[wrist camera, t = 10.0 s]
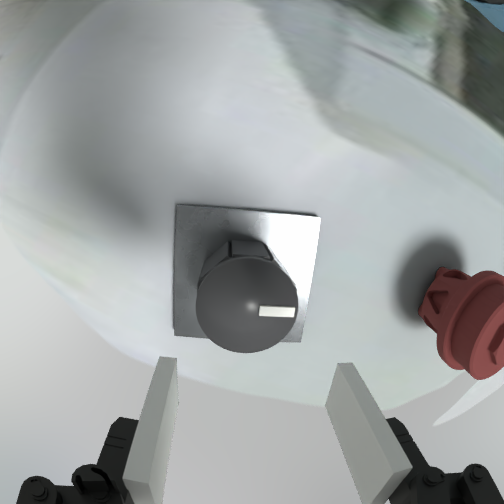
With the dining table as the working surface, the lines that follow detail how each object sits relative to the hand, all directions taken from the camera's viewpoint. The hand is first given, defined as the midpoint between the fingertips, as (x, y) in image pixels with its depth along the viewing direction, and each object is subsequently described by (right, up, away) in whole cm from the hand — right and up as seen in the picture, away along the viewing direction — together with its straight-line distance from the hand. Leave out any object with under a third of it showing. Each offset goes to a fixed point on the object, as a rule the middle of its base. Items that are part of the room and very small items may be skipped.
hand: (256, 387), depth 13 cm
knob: (-1, +4, +13) cm, 14 cm away
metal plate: (-1, +4, +15) cm, 15 cm away
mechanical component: (+21, +1, +17) cm, 27 cm away
